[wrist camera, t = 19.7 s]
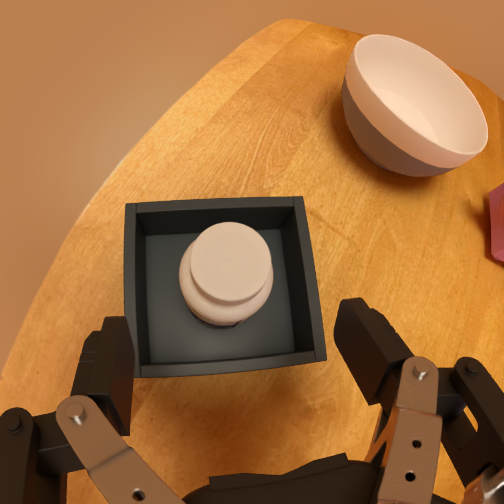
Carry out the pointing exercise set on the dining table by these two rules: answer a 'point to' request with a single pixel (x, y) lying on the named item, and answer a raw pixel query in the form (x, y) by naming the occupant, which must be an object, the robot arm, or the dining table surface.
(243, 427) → the dining table surface
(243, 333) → the tub
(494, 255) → the teapot
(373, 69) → the bowl
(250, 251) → the pill bottle
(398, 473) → the robot arm
